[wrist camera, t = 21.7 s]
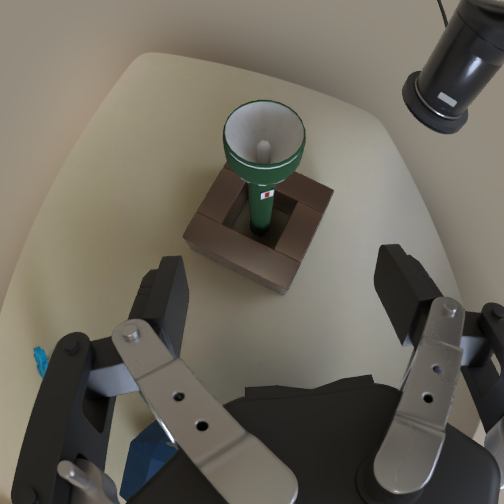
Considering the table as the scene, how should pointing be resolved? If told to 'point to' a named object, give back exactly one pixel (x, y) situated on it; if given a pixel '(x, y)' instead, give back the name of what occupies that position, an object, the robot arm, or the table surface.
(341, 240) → the table surface
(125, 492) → the radio
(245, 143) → the flashlight
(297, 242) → the holder
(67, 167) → the table surface
